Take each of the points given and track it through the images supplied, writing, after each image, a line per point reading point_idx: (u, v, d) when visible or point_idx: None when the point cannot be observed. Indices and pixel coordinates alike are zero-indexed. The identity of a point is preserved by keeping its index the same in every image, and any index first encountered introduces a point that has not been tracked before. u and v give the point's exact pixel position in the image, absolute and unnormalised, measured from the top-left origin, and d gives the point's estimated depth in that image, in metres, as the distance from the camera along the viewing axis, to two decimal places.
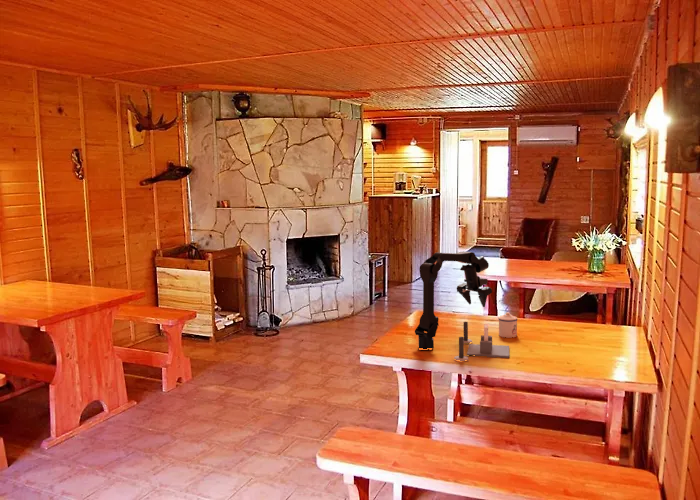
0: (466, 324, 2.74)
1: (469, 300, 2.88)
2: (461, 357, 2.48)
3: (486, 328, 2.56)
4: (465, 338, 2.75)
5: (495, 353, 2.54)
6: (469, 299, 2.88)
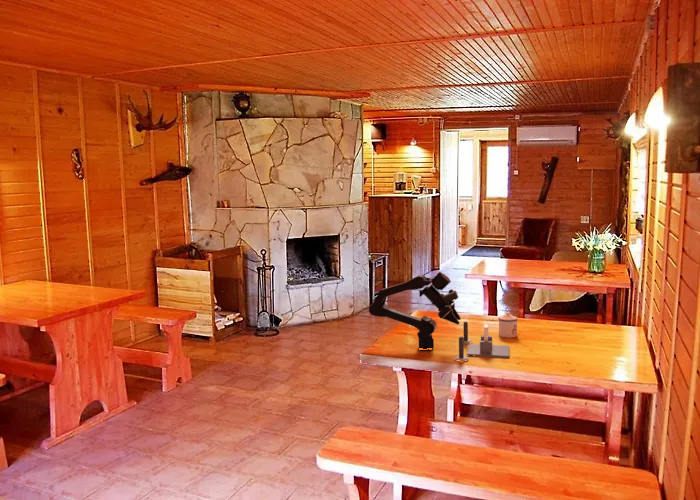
0: (466, 324, 2.74)
1: (456, 316, 2.66)
2: (461, 357, 2.48)
3: (486, 328, 2.56)
4: (465, 338, 2.75)
5: (495, 353, 2.54)
6: (456, 315, 2.66)
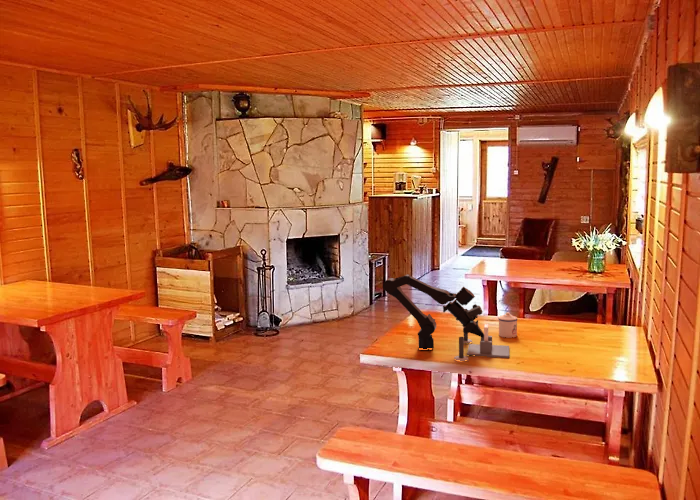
0: None
1: None
2: (461, 357, 2.48)
3: (486, 328, 2.56)
4: (465, 338, 2.75)
5: (495, 353, 2.54)
6: None
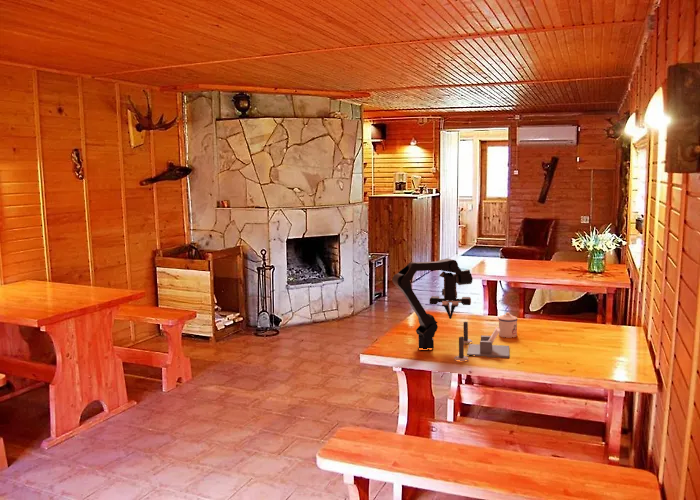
0: (466, 324, 2.74)
1: (450, 314, 2.70)
2: (461, 357, 2.48)
3: (497, 332, 2.55)
4: (465, 338, 2.75)
5: (495, 353, 2.54)
6: None
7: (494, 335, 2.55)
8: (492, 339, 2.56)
